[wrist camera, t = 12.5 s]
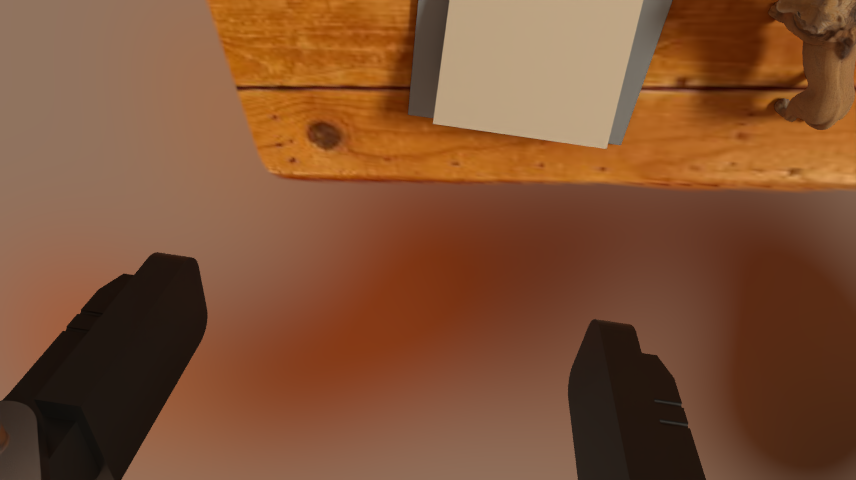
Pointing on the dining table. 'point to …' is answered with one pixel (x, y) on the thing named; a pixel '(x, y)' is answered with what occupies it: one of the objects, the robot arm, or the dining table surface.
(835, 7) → the lion figurine
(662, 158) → the dining table surface
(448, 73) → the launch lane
